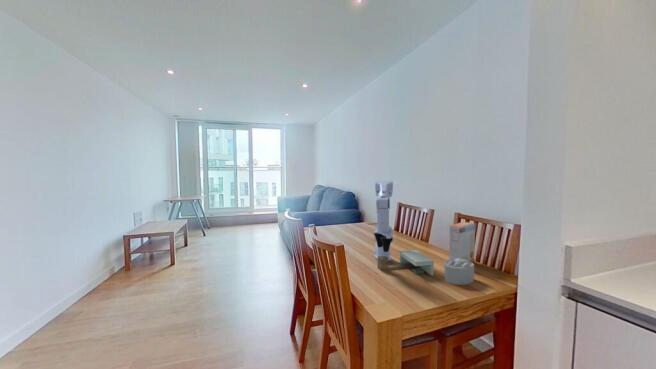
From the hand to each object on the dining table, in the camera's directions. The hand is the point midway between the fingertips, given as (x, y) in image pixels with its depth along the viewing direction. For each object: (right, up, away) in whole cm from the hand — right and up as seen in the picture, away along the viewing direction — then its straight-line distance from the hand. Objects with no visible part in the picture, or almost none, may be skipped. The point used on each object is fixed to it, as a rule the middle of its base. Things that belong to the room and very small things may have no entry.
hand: (382, 249), depth 128 cm
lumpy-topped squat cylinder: (+31, -11, -12) cm, 35 cm away
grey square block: (+16, -10, -4) cm, 19 cm away
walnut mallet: (+8, -10, +2) cm, 13 cm away
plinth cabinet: (+16, -10, -1) cm, 19 cm away
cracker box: (+43, -9, +7) cm, 44 cm away
